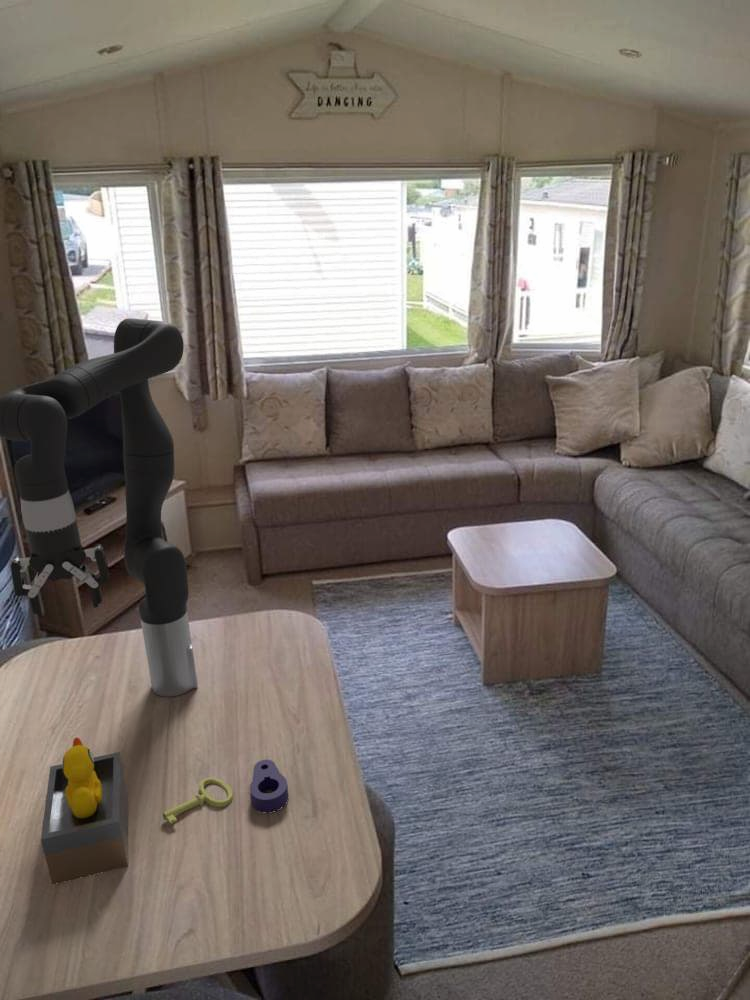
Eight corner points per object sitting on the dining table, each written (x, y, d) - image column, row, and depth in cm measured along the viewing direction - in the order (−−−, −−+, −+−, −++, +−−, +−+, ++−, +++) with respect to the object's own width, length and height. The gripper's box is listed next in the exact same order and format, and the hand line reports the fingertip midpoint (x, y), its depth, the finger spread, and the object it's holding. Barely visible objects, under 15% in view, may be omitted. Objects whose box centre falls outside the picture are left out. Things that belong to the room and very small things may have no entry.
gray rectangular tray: (128, 793, 133) (119, 751, 129) (128, 866, 118) (119, 821, 115) (60, 809, 130) (50, 766, 126) (52, 885, 116) (40, 839, 112)
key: (160, 824, 127) (158, 814, 126) (211, 778, 136) (210, 769, 136) (192, 841, 123) (191, 831, 122) (242, 793, 133) (241, 783, 132)
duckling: (68, 784, 126) (56, 735, 122) (102, 775, 128) (92, 726, 124) (68, 834, 116) (56, 782, 112) (105, 823, 118) (95, 772, 114)
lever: (291, 809, 129) (289, 795, 127) (253, 817, 127) (251, 803, 126) (281, 762, 139) (279, 748, 138) (246, 768, 138) (244, 754, 137)
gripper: (98, 504, 125) (114, 592, 131) (4, 517, 121) (25, 606, 127) (97, 522, 118) (113, 613, 124) (-3, 536, 115) (19, 629, 121)
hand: (69, 609), depth 126 cm, fingers open, 8 cm apart
